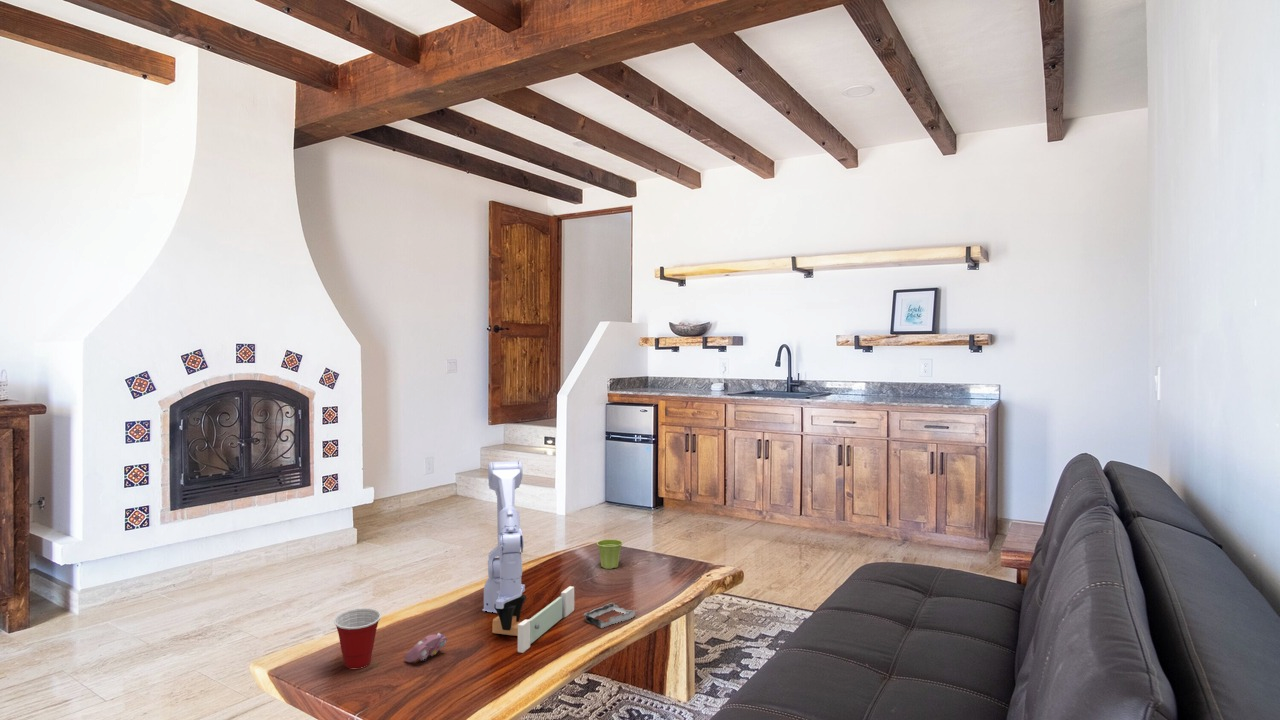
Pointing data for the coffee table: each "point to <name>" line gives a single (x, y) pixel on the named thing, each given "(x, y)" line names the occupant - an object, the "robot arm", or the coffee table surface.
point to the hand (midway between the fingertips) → (510, 626)
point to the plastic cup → (357, 635)
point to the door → (546, 618)
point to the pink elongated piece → (426, 647)
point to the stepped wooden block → (498, 629)
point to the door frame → (525, 625)
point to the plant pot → (609, 553)
